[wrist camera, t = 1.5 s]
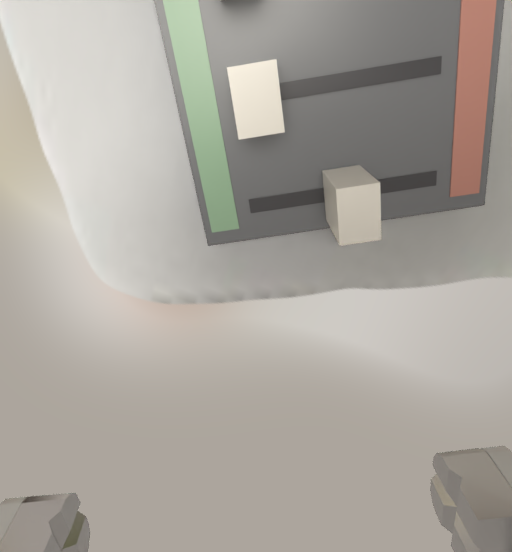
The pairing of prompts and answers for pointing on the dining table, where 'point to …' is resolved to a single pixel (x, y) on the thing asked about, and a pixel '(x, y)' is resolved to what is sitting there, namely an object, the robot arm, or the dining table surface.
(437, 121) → the panel
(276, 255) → the dining table surface
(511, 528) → the robot arm
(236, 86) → the block
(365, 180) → the block
